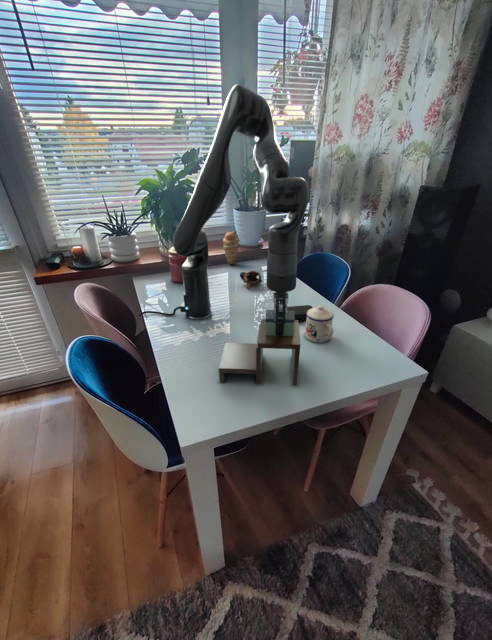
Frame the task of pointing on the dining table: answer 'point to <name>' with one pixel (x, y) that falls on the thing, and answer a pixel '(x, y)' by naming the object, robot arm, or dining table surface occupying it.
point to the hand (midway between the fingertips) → (279, 329)
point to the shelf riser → (258, 353)
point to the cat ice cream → (230, 246)
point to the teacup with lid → (319, 324)
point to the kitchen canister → (176, 265)
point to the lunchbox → (288, 318)
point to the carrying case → (300, 311)
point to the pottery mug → (251, 278)
